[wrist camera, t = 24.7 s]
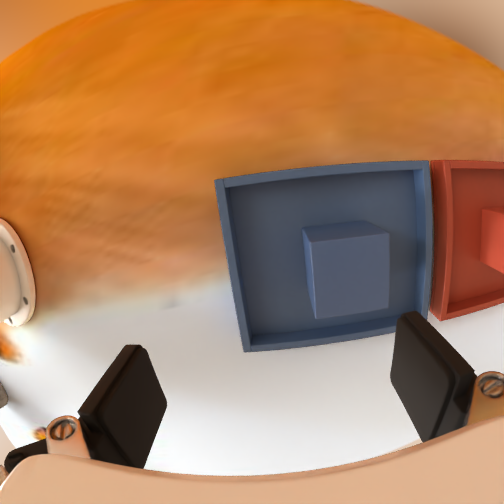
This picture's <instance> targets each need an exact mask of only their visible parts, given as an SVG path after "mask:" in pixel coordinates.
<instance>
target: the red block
mask: <svg viewBox="0 0 504 504" xmlns="http://www.w3.org/2000/svg"><path fill="white" fill-rule="evenodd" d="M480 262H482V263H484V264H486V265H488V266H490V267H492V268H494V269H496V270H497V271H499V272H501V273H503V274H504V207H494V208H482V228H481V250H480Z"/></svg>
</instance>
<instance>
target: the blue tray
mask: <svg viewBox="0 0 504 504" xmlns="http://www.w3.org/2000/svg"><path fill="white" fill-rule="evenodd" d="M214 183H215V189H216V196H217V202H218V208H219V215H220V221H221V227H222V233H223V239H224V245H225V251H226V257H227V263H228V269H229V275H230V280H231V286H232V292H233V297H234V303H235V308H236V314H237V319H238V325H239V330H240V335H241V341H242V346H243V351H244V352H258V351H270V350H281V349H291V348H300V347H308V346H316V345H323V344H331V343H337V342H344V341H350V340H356V339H362V338H368V337H373V336H379V335H384V334H389V333H394V332H396V324H397V319H398V318H400V317H401V315H402V314H403V313H406V312H411V311H418V312H419V313H420V314H421V315H422V316H423V317H424V318H425V319H426V320H427V316H428V307H429V298H430V286H431V272H432V246H433V221H432V195H431V181H430V169H429V161H389V162H368V163H353V164H339V165H327V166H316V167H306V168H297V169H288V170H279V171H271V172H264V173H256V174H249V175H242V176H236V177H229V178H224V179H217V180H214ZM364 220H365V221H367V222H369V223H371V224H373V225H375V226H377V227H379V228H380V229H382V230H384V231H386V232H388V233H389V237H390V289H389V308H385V309H380V310H374V311H368V312H362V313H355V314H349V315H342V316H335V317H328V318H321V319H316V318H315V315H314V312H313V308H312V304H311V301H310V297H309V293H308V290H307V279H306V267H305V257H304V246H303V237H302V228H303V227H310V226H319V225H328V224H337V223H346V222H355V221H364Z"/></svg>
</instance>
